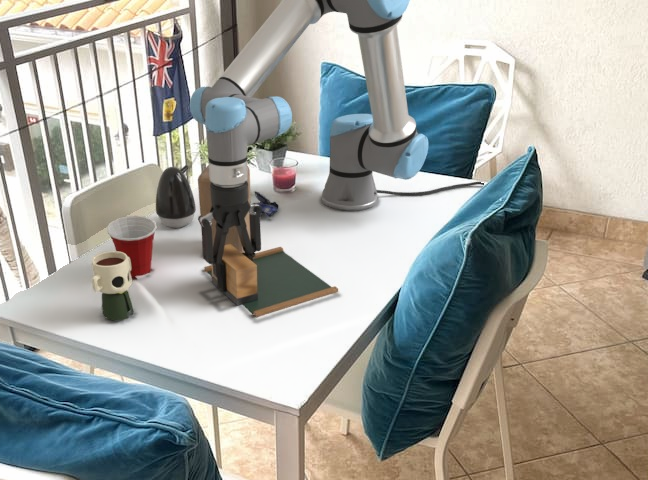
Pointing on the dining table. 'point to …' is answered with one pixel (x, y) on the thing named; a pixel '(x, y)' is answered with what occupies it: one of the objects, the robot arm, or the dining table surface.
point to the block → (206, 206)
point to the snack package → (266, 205)
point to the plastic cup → (134, 241)
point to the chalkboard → (282, 283)
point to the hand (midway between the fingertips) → (234, 285)
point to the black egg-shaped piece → (175, 198)
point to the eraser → (238, 276)
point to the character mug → (113, 283)
